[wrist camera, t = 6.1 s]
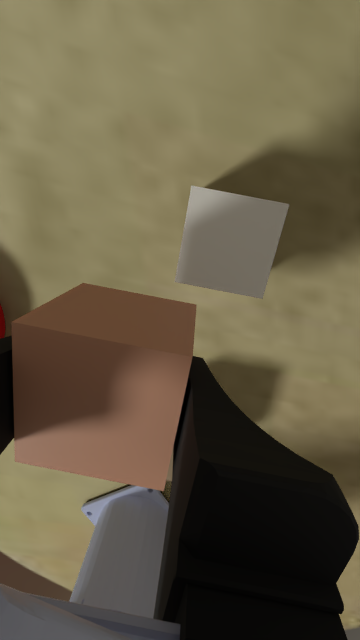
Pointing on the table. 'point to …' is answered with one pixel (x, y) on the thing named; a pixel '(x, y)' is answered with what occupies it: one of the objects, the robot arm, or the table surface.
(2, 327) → the decorative ornament
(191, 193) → the cream cube
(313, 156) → the table surface
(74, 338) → the terracotta cube
